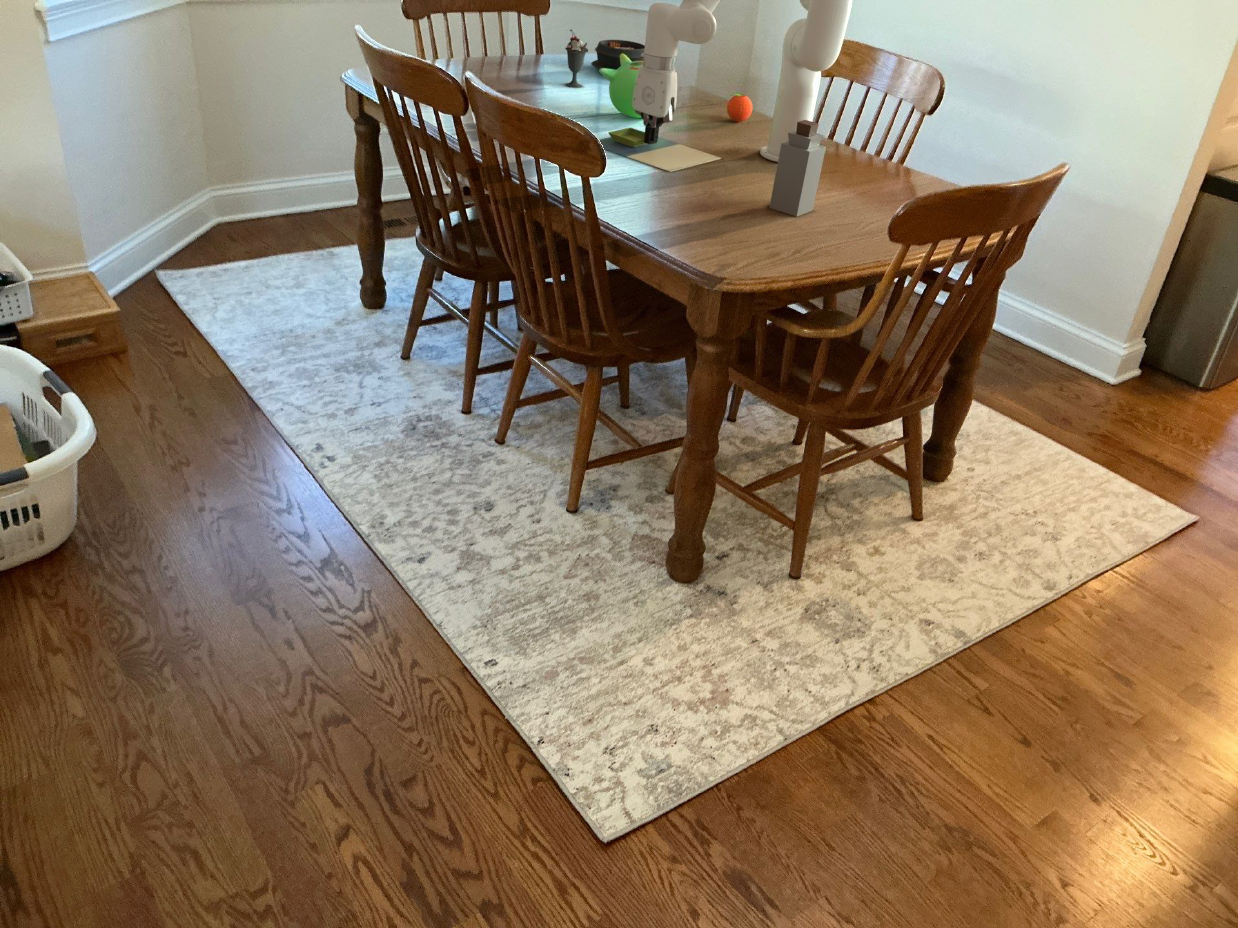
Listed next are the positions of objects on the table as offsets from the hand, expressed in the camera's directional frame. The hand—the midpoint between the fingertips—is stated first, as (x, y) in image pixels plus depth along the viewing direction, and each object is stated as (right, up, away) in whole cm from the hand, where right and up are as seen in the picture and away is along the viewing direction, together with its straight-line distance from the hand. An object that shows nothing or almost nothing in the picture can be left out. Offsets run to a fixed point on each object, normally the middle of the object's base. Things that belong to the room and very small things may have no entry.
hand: (650, 143), depth 236 cm
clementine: (+24, +17, +33) cm, 44 cm away
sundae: (-21, +33, +50) cm, 63 cm away
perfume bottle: (+29, -23, -27) cm, 46 cm away
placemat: (+1, -2, 0) cm, 2 cm away
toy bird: (-3, +16, +27) cm, 31 cm away
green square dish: (-5, +1, +4) cm, 6 cm away
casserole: (-7, +44, +70) cm, 83 cm away
